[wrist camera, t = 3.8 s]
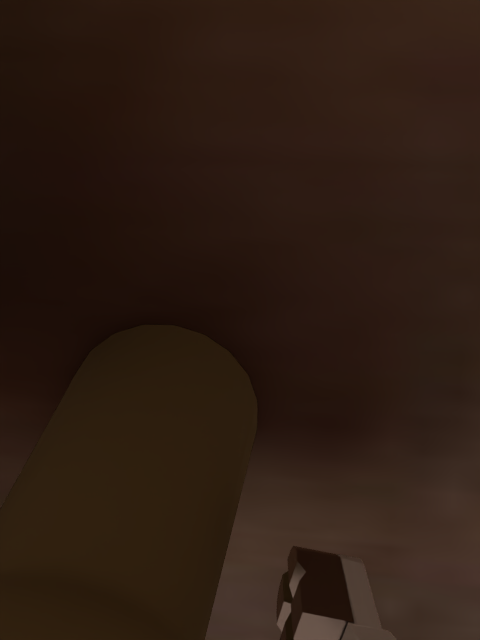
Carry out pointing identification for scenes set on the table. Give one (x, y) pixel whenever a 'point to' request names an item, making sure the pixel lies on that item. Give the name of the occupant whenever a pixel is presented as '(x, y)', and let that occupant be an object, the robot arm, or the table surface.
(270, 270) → the table surface
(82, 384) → the cork
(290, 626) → the robot arm
